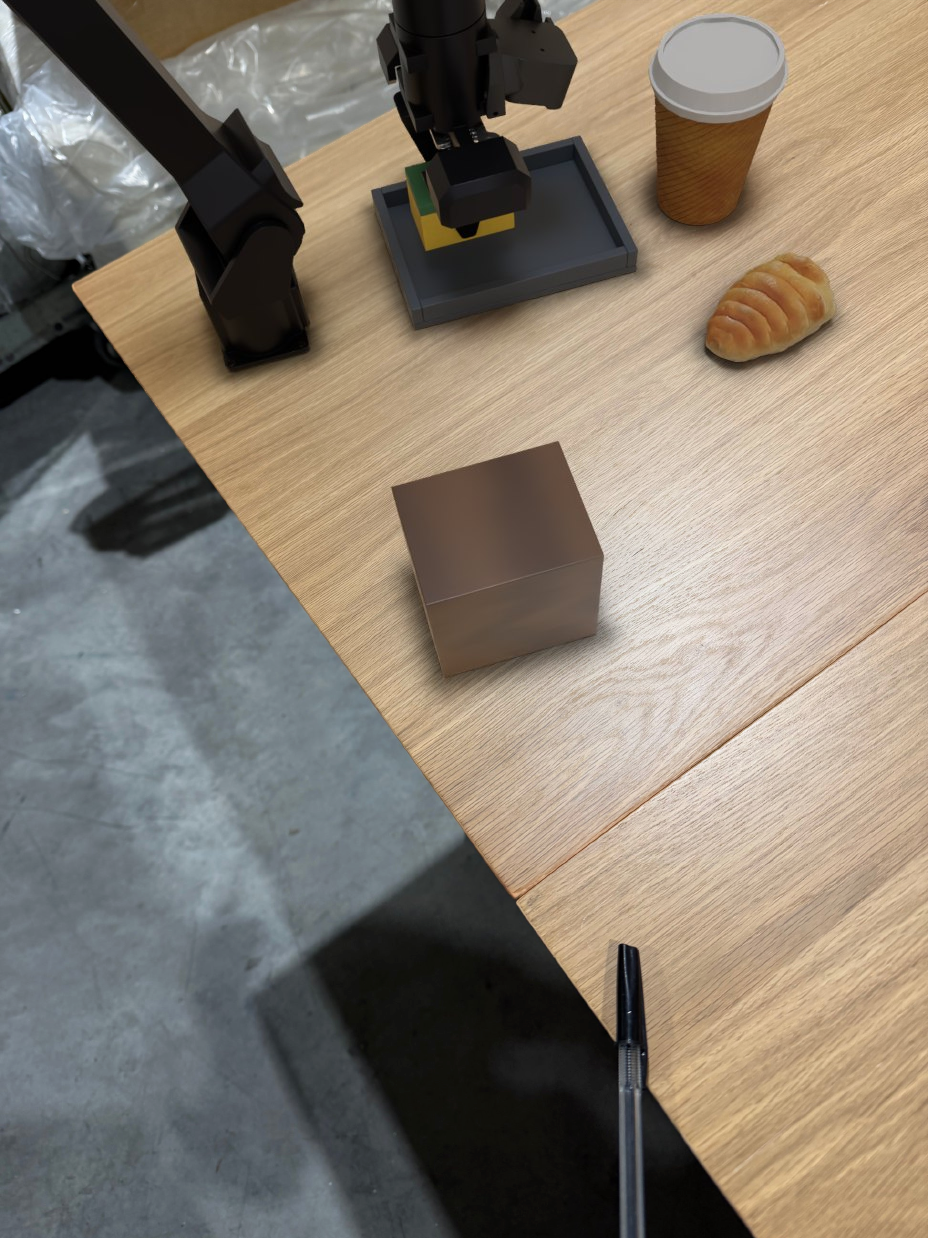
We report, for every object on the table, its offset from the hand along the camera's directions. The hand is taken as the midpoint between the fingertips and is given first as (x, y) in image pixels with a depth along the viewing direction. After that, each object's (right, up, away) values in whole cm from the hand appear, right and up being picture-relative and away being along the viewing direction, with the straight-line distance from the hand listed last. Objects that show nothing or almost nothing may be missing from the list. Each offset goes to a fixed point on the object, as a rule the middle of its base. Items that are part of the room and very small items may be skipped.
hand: (460, 215), depth 73 cm
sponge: (0, 0, 0) cm, 1 cm away
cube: (+3, -30, -11) cm, 32 cm away
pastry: (+23, -9, -3) cm, 24 cm away
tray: (+3, -1, +3) cm, 5 cm away
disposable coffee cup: (+19, +3, +4) cm, 19 cm away
